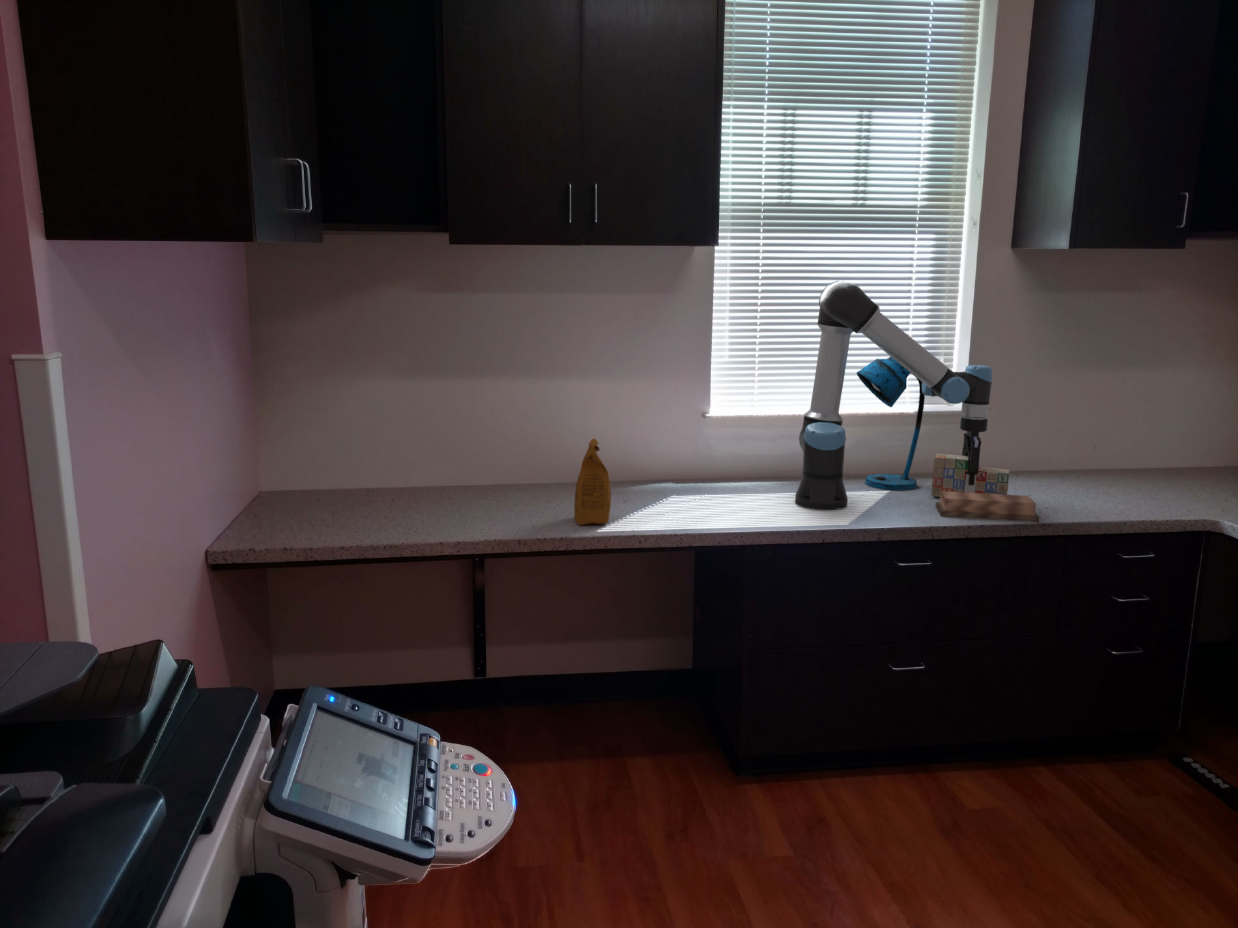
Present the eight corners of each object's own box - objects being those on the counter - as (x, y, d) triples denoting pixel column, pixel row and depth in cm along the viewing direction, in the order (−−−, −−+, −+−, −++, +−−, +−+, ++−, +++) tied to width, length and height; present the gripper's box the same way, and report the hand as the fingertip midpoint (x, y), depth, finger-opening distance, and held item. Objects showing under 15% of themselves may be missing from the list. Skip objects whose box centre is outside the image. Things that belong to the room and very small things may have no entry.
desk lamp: (843, 479, 309) (852, 342, 300) (908, 479, 310) (919, 343, 301) (858, 490, 293) (868, 346, 284) (927, 490, 294) (938, 347, 285)
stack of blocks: (1006, 499, 282) (1011, 459, 279) (1006, 504, 276) (1010, 463, 273) (932, 491, 290) (936, 452, 287) (930, 495, 284) (934, 456, 282)
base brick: (941, 516, 263) (942, 499, 262) (935, 506, 274) (936, 490, 273) (1038, 521, 258) (1040, 504, 257) (1029, 511, 269) (1030, 495, 268)
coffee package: (610, 514, 261) (611, 437, 256) (610, 526, 248) (611, 445, 244) (575, 514, 260) (575, 437, 256) (573, 526, 248) (573, 445, 244)
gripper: (994, 423, 268) (986, 500, 273) (981, 413, 287) (973, 485, 292) (967, 422, 269) (959, 499, 274) (955, 412, 288) (948, 484, 293)
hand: (967, 492), depth 283 cm, fingers closed on stack of blocks, 7 cm apart
